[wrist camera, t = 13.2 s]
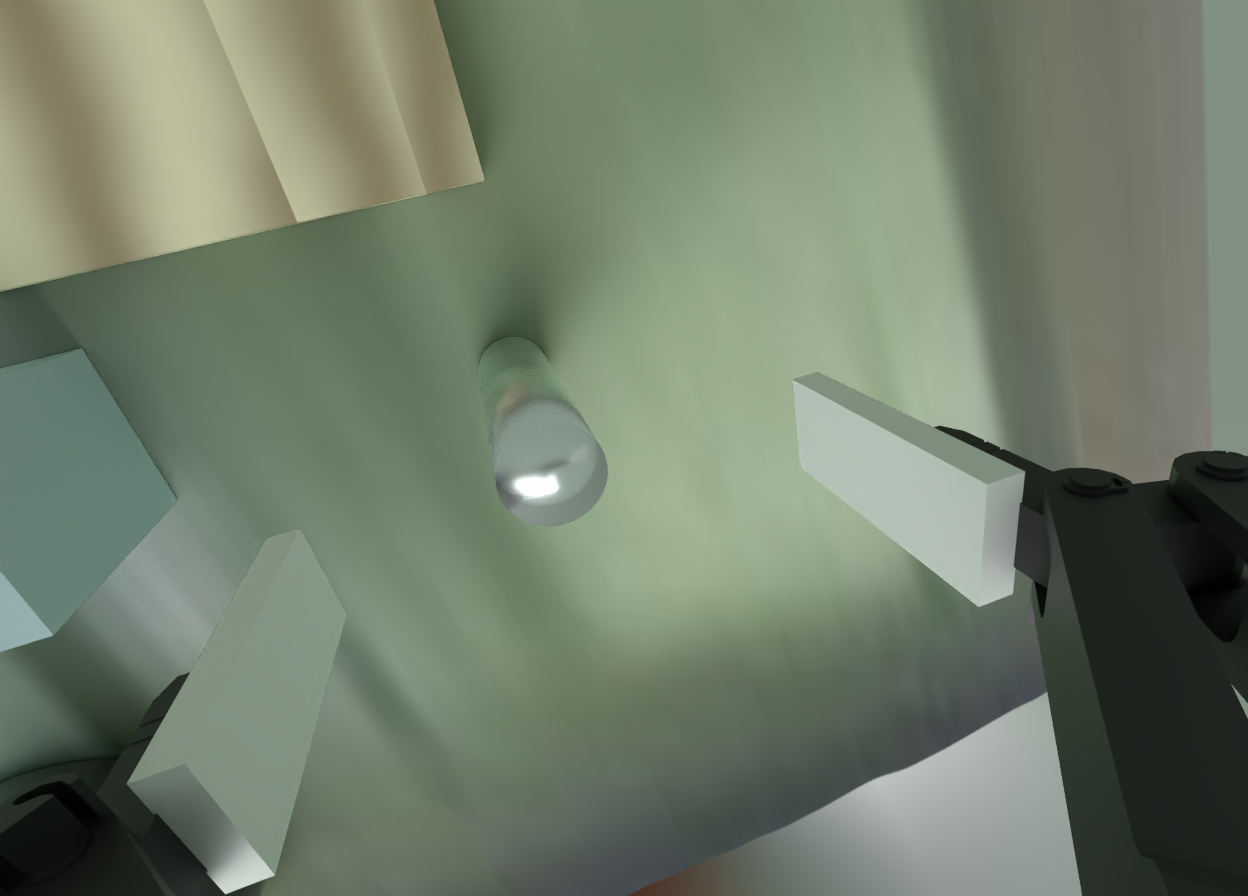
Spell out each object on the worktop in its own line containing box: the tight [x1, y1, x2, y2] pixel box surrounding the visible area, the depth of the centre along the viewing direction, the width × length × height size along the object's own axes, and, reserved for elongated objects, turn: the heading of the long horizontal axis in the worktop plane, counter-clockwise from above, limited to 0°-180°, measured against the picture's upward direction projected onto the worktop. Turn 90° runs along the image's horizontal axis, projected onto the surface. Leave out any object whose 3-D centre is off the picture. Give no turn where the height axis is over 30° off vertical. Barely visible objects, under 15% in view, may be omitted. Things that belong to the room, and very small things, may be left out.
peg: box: [478, 336, 608, 526], centre depth 22 cm, size 3×3×12 cm
